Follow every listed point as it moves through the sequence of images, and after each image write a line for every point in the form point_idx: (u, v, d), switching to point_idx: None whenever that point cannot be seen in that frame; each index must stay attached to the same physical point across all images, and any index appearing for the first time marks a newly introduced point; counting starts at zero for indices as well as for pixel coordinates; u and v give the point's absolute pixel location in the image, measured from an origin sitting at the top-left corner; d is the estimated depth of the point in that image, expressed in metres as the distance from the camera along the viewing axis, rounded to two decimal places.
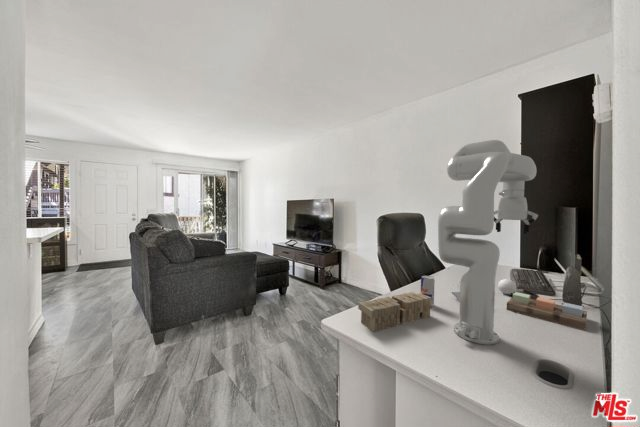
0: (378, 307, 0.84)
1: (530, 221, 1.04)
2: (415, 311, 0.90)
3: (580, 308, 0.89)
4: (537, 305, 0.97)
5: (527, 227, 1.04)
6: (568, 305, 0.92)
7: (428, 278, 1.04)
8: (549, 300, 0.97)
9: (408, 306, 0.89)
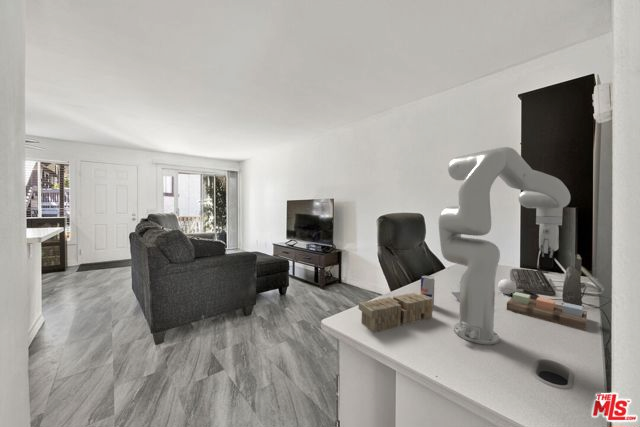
0: (378, 307, 0.83)
1: None
2: (417, 312, 0.90)
3: (580, 308, 0.89)
4: (537, 305, 0.97)
5: None
6: (568, 305, 0.92)
7: (428, 278, 1.04)
8: (549, 300, 0.97)
9: (409, 307, 0.88)
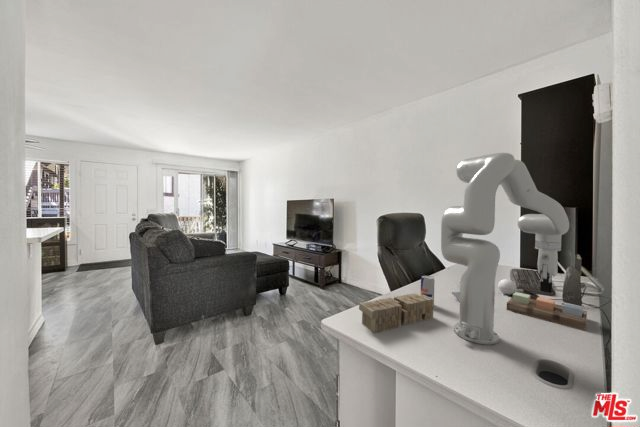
0: (379, 307, 0.83)
1: None
2: (418, 312, 0.89)
3: (580, 308, 0.89)
4: (537, 305, 0.97)
5: None
6: (568, 305, 0.92)
7: (428, 278, 1.04)
8: (549, 300, 0.97)
9: (410, 307, 0.88)
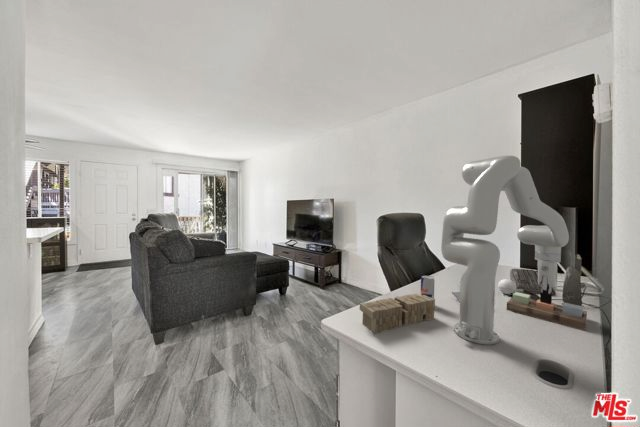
0: (379, 308, 0.83)
1: None
2: (419, 313, 0.89)
3: (580, 308, 0.89)
4: None
5: None
6: (568, 305, 0.92)
7: (428, 278, 1.04)
8: None
9: (411, 308, 0.87)
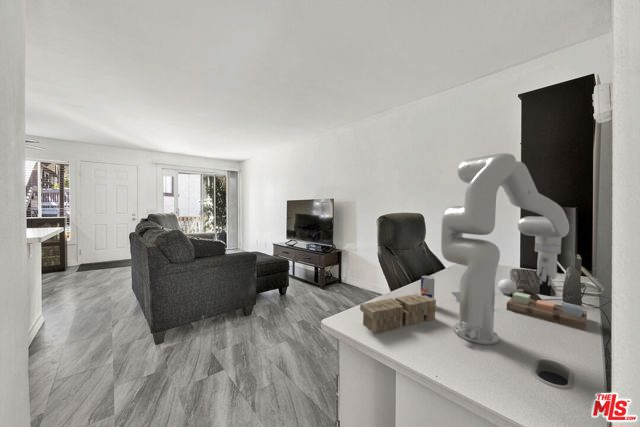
0: (380, 308, 0.82)
1: None
2: (419, 313, 0.88)
3: (580, 308, 0.89)
4: None
5: None
6: (568, 305, 0.92)
7: (428, 278, 1.04)
8: (549, 303, 0.97)
9: (412, 308, 0.87)
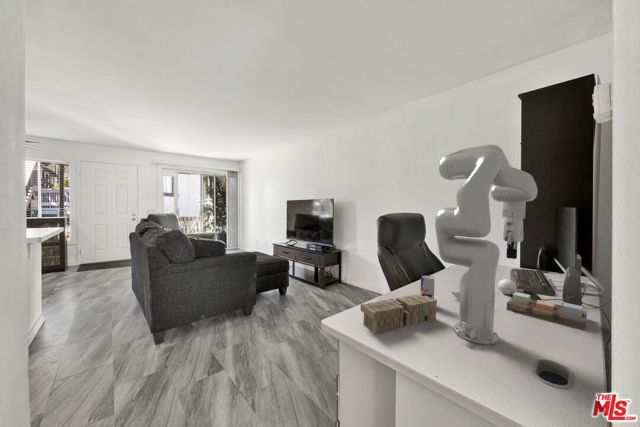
0: (380, 309, 0.82)
1: None
2: (420, 314, 0.88)
3: (580, 308, 0.89)
4: None
5: None
6: (568, 305, 0.92)
7: (428, 278, 1.04)
8: (549, 303, 0.97)
9: (412, 309, 0.86)
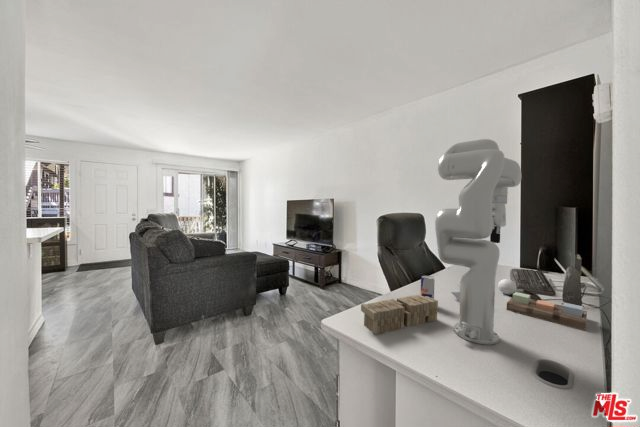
0: (381, 309, 0.82)
1: None
2: (421, 314, 0.88)
3: (580, 308, 0.89)
4: None
5: None
6: (568, 305, 0.92)
7: (428, 278, 1.04)
8: (549, 303, 0.97)
9: (413, 309, 0.86)
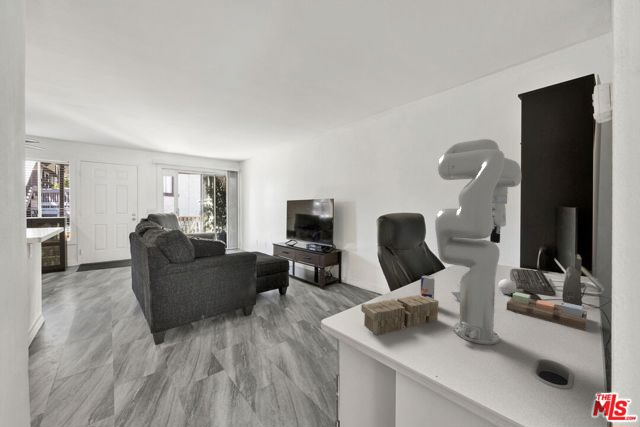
0: (381, 309, 0.82)
1: None
2: (422, 315, 0.87)
3: (580, 308, 0.89)
4: None
5: None
6: (568, 305, 0.92)
7: (428, 278, 1.04)
8: (549, 303, 0.97)
9: (414, 310, 0.86)
